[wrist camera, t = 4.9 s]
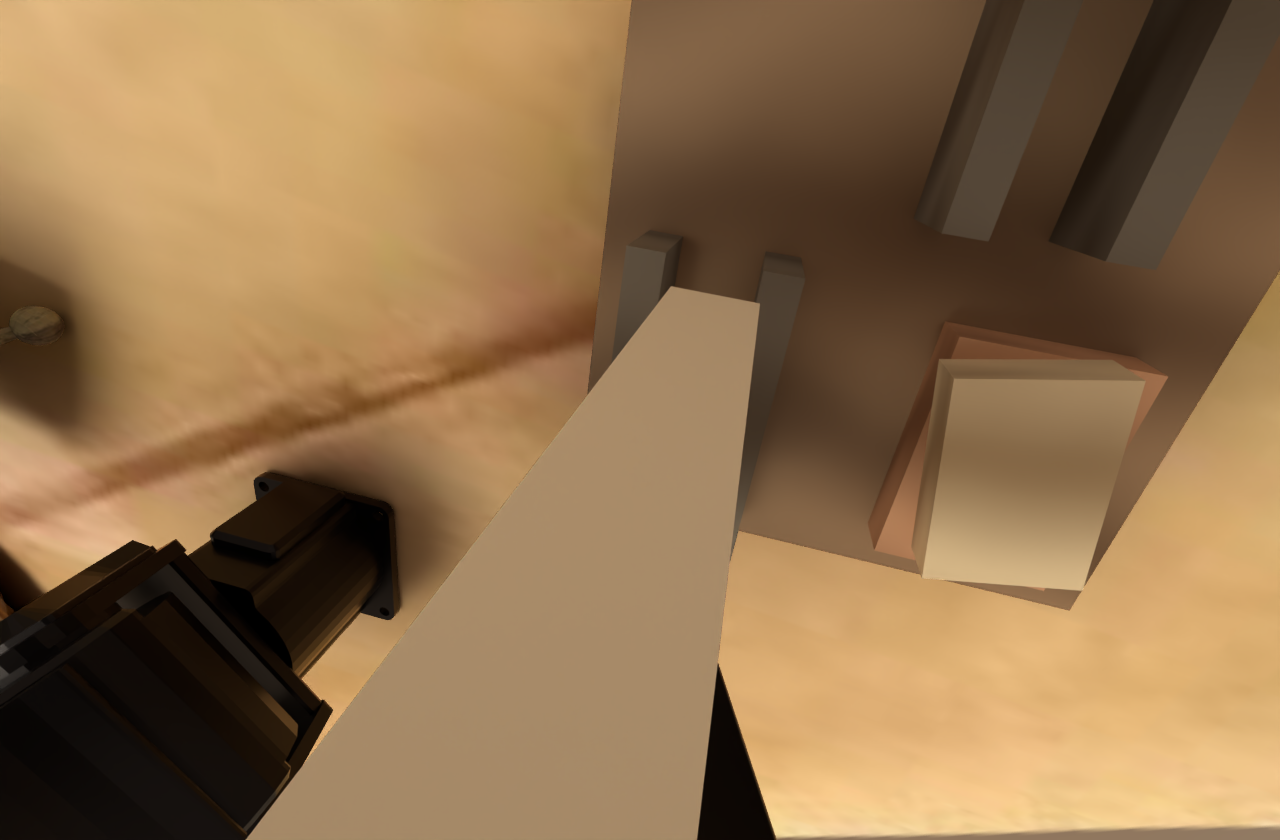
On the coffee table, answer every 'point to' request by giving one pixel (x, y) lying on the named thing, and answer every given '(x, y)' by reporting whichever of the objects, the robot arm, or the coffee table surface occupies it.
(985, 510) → the birch offcut
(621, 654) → the off-white sheet
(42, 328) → the tabletop clock
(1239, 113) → the walnut rack
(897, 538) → the cedar offcut
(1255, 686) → the coffee table surface
